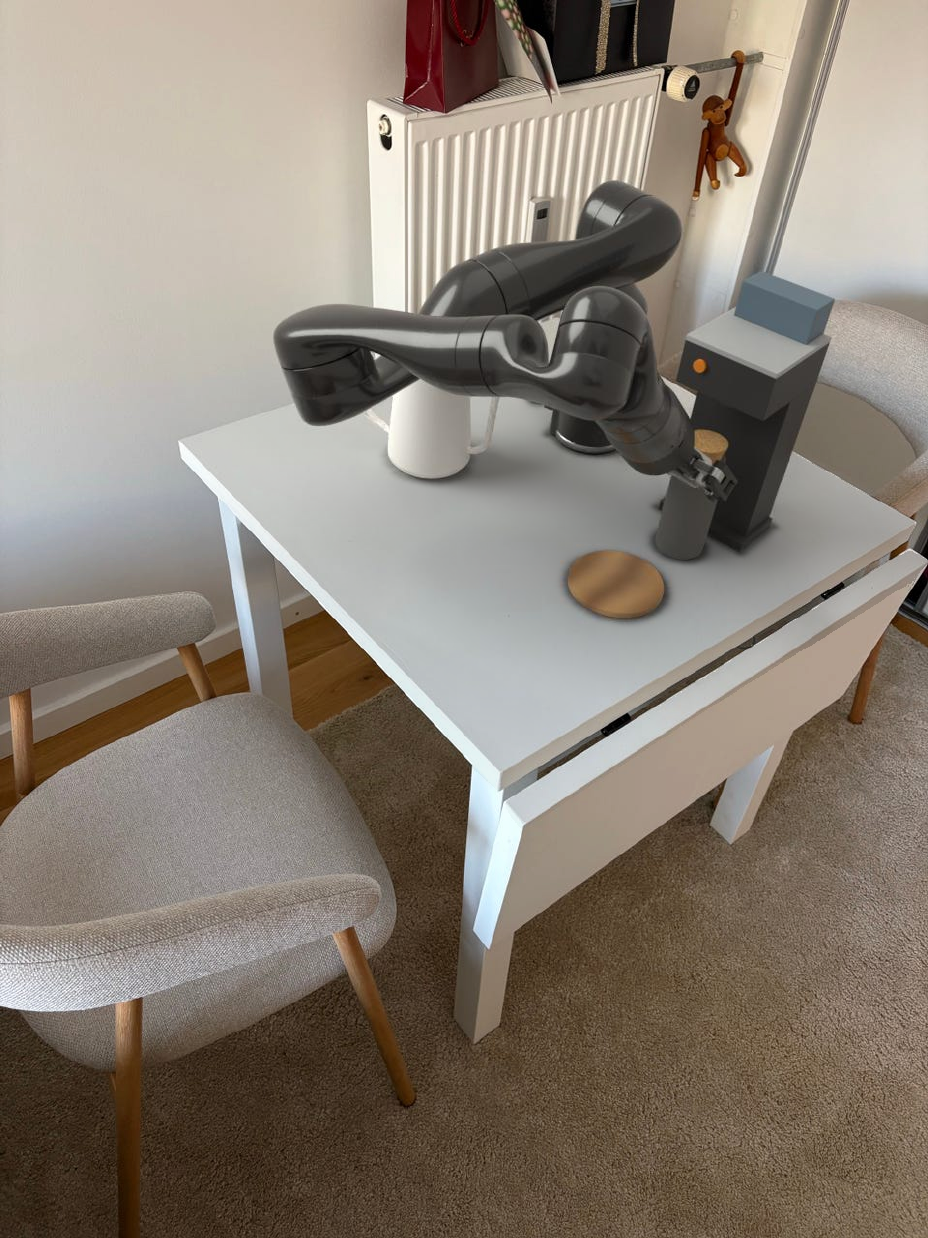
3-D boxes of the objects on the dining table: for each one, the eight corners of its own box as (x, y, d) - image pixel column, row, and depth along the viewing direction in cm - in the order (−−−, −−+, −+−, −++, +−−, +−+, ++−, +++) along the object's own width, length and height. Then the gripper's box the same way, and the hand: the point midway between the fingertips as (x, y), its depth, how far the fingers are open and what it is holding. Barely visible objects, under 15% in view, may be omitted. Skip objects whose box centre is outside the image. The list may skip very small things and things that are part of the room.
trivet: (550, 592, 112) (551, 587, 112) (594, 543, 119) (595, 538, 119) (638, 632, 108) (639, 627, 108) (677, 579, 115) (679, 574, 115)
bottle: (701, 564, 118) (733, 458, 107) (652, 555, 118) (679, 449, 108) (703, 535, 122) (734, 430, 112) (656, 526, 122) (682, 422, 112)
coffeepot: (510, 505, 124) (526, 370, 111) (328, 457, 129) (323, 322, 116) (534, 460, 131) (552, 329, 118) (361, 416, 136) (361, 286, 123)
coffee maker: (719, 570, 117) (791, 340, 97) (636, 524, 122) (688, 298, 102) (770, 526, 124) (848, 303, 104) (690, 484, 130) (749, 265, 109)
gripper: (568, 428, 99) (615, 477, 114) (687, 490, 93) (721, 534, 107) (608, 363, 99) (650, 421, 113) (731, 421, 92) (758, 474, 107)
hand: (684, 476), depth 110 cm, fingers open, 8 cm apart
